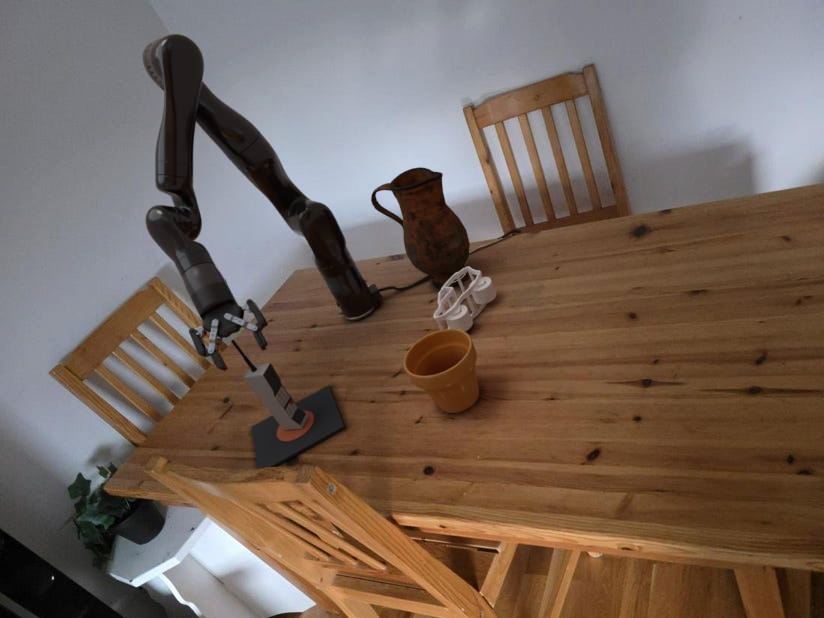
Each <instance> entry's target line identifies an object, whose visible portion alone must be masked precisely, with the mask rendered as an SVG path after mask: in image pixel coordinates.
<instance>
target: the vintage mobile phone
mask: <svg viewBox="0 0 824 618" xmlns="http://www.w3.org/2000/svg"><path fill="white" fill-rule="evenodd" d="M230 342H231V344H232V345H233V346H234V348H235V349H236V350H237V352H238V353H239V354H240V355H241V356H242V359H243V360H244V362H245V363H246V364H247V366H248V367H249V368H248V371H247V372H246V374H245V375H244V377H243V378H244V381H245V383H246V384H247V385H248V386H249V387H250V389H251V390H252V391H253V392H254V394H255V395H256V396H257V397H258V399H259V400H260V401H261V403H262V404H263V405H264V407H265V408H266V409H267V410H268V412H269V413H270V415H271V416H273V417H274V418H275V419H276V421H277V422H278V423H279V425H280V426H281V427H282V429H283V430H294V429H302V428H303V426H304V425H305V423H306V421H307V419H308V414H307V413H306V412H304V411H303V410H301V409H300V408H299V407H298V406H297V404H296V403H297V402H295V400H294V399H293V397H292V396H291V395H290V393H289V392H288V390H287V389H286V387H285V386H284V385H283V383H282V380H281V378H280V376H279V374H278V373H277V371H276V369H275V367H274V366H273V364H272V363H271V362H267V363H261V364H253V363H252V361H251V360H250V359H249V357H248V356H247V355H246V354H245V352H244V351H243V350H242V349H241V348H240V346H239V345H238V343H237V342H236V341H235V339H231V340H230Z"/></svg>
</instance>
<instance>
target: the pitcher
mask: <svg viewBox="0 0 824 618" xmlns="http://www.w3.org/2000/svg"><path fill="white" fill-rule="evenodd" d="M443 174H444V173H443V172H441V171H434V170H431V169H430V168H427V167H422V166H421V167H414V168H410V169H409V168H408V169H407V170H405V171H403V172H401V173H399V174H398V175H396V176H395V177H394V178H393V179H392V180H391V182H387V183H383V184H381V185H379V186H377V187H376V188H375V189H374V190H373V191H372V193H371V197H370V202H371V205H372V206H373V208H374V209H375V210H376V211H377V212H379V213H381V214H382V215H383V216H386V217H388V218H389V219H391V220H393V221H395V222H396V223H398V224H399V225H400V226H401V227H402V231H403V244H404V245H403V246H404V249H405V254H406V256H407V258H408V260H409V261H410V263H411V264H412V266H413V267H414V268H415V269H416V270H419V271H420V272H422V273H423V274H425V275H426V276H428V275H430V276H432V277H433V278H432V280H431V282H432V287H434V288H436V289H439V290H441V288H442V287H443V285H444V284H445V283H446V282H447V281H448V280H449V279H450V278H451V277H452V276H453V275H454V274H455V273H456V272H459V271H460V270H462V269H463V268H464V267H467V266H466V263H467V261H468V259H469V255H470V254H469V251H470V246H471V245H470V244H471V243H470V239H469V235H468V231H467V229H466V227H465V225H464V224H463V222H462V220H461V218H460V217H459V216H458V215H457V214H456V213H455V212H454V211H453V209H451V207H450V206H449V205H448V204H447V202H446V198H445V194H444V187H443V176H444V175H443ZM381 191H388V192H391V193H392V195H393V196H394V198H395V199H396V201H397V203H398V207H399V208H400V212H401V217H402V218H401V217H400V216H399V215H397V214H396V213H393V212H392V211H391V210H389V209H387V208H385V207H384V206H382V204H380V202H379V201H378V199H377V193H379V192H381ZM463 275H464V274H463ZM463 275H462V276H463ZM462 276H460V278H461V277H462ZM469 278H470V276H469V273H468V272H467V273H466V275H465V276H464V277H463V278H462V279H461V282H462V284H464V283H465V282H466V281H468V279H469ZM456 280H457V279H455V280H454V281H456ZM454 281H453V282H454ZM458 286H460V285H459V283H458V281H456V282H454V283H451V284H450V285H449V287H453V288H455V287H458Z"/></svg>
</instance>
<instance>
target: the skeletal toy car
mask: <svg viewBox="0 0 824 618" xmlns="http://www.w3.org/2000/svg"><path fill="white" fill-rule="evenodd" d="M466 272H468V273H469V276H470V277H469V278H470V281H471V283H470V284H469V286H468V288H467V289H465V287H464V283H462V282H461V279H460V276H462V275H463V274H464V273H466ZM474 275H475V276H476V277H474ZM455 279H457V280H458V283H459V285H458V286H459V287H460V290H461V292H462V293H461V294H460V295H459V297H458V295H457V293H456V291H455V287H449V285H450V284H451V283H452V282H453V281H454V280H455ZM471 295H472V298H473V300H474V303H475V304H476V305H481V304H483V305H482V306H481V307H480V309H479V310H478V311H477V312H476V311H475V310H477V309H475V307H474V306H475V305H474V304H473V300H472V299H471V297H470V296H471ZM437 296H438V297H437V305H438V306H437V309H436V310H435V311H434V313H433V319H434V321H435V322H436V325H437V326H438V328H439V330H444V329H445V328H444V326H443V324H442V321H444V320H445V322H446V324H447V329H459V330H462V331H464V332H467V331H469V330H470V329H471V328H472V326H473V325H474V321H473V320H474V319H475V318H477V316H478V315H479V314H480V313H481V312H482V311H483V310H484V309H485V308H486V306H487V304H488V303H490V302H492V301H493V300H494V299H496V297H497V292H496V289H495V286H494V284H493V281H492V278H490V277H489V276H483V274H482V271H481V270H478V269H474V268H472V267H471V266H469V265H468V266H466V267H465V268H463V269H462V270H460V271H459V272H456V273H455V274H454V275H453V276H452V277H451V278H450V279H449V280H448V281H447V282H446V283H445V284H444V285H443V287H442V288H441V289H439V292H438V293H437ZM451 297H453V299H454V302H453V303H452V300H451ZM465 299H466V301H467V302H468V305H469V308H470V310H471V312H472V313H471V314H470V312H469V308H468V306H466V305H465V304H461V303H462V302H463V301H464V300H465ZM446 303H448V306H449V308H448V309H447V310H446V309H445V307H444V305H445V304H446ZM475 312H476V313H475ZM473 313H475V314H474V315H472V314H473Z"/></svg>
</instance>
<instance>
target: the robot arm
mask: <svg viewBox="0 0 824 618" xmlns="http://www.w3.org/2000/svg"><path fill="white" fill-rule="evenodd" d="M142 64H143V67H144V69H145V72H146V74H147V75H148V76H149V78H150V79H151V80H152V81H153V82H154V83H155V85H156V86H158V88H159V89H160V90H162V91H163V93H164V95H163V109H162V110H163V112H162V118H161V122H160V126H159V130H158V134H157V140H156V145H155V153H154V176H155V177H154V184H155V187H156V189H157V190H158V191H159V192H161V193H162V194H165V195H167V196H169V197H170V198H171V200H172V203H173V205H165V204H156V205H153V206H151V207H150V208H149V209H148V210H147V211H146V213H145V225H146V230H147V232H148V235H149V236H150V237H151V239H152V240H153V241H154V242H155V244H156V245H157V246H158V247H159V248H160V250H161V251H163V253H164V254H165V255H166V256H167V257H168V258H169V259H170V260H171V261H172V262H173V264H174V266H175V268H176V270H177V272H178V274H179V276H180V277H181V280H182V282H183V285H184V288H185V290H186V292H187V294H188V297H189V298H190V300H191V302H192V304H193V306H194V308H195V309H196V311H197V313H198V316H199V317H200V319H201V323H202V324H201V325H200V326H198V327H195V328H194V327H191V328H189V329H188V334H189V336H190V338H191V340H192V343H193V345H194V347H195V350H196V353H197V354H198V356H201V357H202V358H207V357H211V359H212V361H213V363H214V365H215V367H216V368H217V369H219V370H221V371H224V372H225V371H227V370H228V369H229V368H228V367H227V364H226V362H225V360H224V358H223V356H222V355H221V353H219V351H220V347H221V345H222V344H223V339H224V338H225V339H227V338H229V337H230V336H231V335H233V334H237V333H239V332H240V331H241V329H242V328H244V329H245V330H247V331H251V332H252V336H253V337H254V339H255V341H256V343H257V345H258V346H259V348H260V350H261V351H264V352H265V351H266V350H267V349H268V348H267V347H268V342H267V340H266V338H265V335H264V333H263V329H265V328H267V327H268V325H269V323H268V321H267V319H266V317H265V316H264V314H263V312H262V311H261V309H260V308H259V306H258V305H257V303H256V302H255V301H254V300H253V299H252V298H248V299H246V302H245V303H244V304H241V305H240V304H238V302H237V300H236V297H235V296H234V294H233V292H232V290H231V289H230V286H229V285H228V281H227V279H226V278H225V277H224V276H223V275H224V274H222V272H221V270H219V268H218V266H217V265H216V263H215V261H214V259H213V257H212V255H211V253H210V251H209V249H208V248H207V247H206V245H205V244H203V243H201V242H199V241H196V240H197V239H198V238H199V236H200V235H201V232H202V229H203V219H202V214H201V211H200V206H199V204H198V199H197V195H196V191H195V188H194V183H195V182H194V180H195V179H194V176H195V174H194V171H195V167H194V166H195V160H194V159H195V158H194V157H195V137H196V126H197V125H198V127H200V128H201V130H202V131H203V132H204V133H205V134H206V135H207V137H208V138H209V139H210V140H211V141H212V142H213V143H214V144H215V145H216V146H217V147H218V149H219V150H220V151H221V152H222V153H223V154H224V156H225V157H226V158H227V159H228V160H229V161H230V162H231V164H233V166H234V167H236V168H235V169H237V170H238V171H239V172H240V173H241V174H242V175H243V176H244V177H245V179H247V180H248V181H249V182H250V183H251V184H252V185H253V187H255V188H256V189H257V190H258V191H259V192H260V193H261V194H262V195H264V197H265V198H267V200H268V201H269V202H270V204H272V206H273V207H274V208H275V210H276V211H277V213H278V214H279V215H280V217H281V218H282V220H283V221H284V222H285V223H286V225H287V226H288V227H289V228H290V230H291V231H292V232H293V233H295V234H296V235H298V236H300V237H302V238H304V239H305V241H306V242H307V244H308V246H309V248H310V250H311V252H312V254H311V260H312V262H313V264H314V265H315V267H316V269H317V270H318V273H319V274H320V276H321V278H322V279H323V281H324V282H325V284H326V286H327V288H328V290H329V291H330V292H331V295H332V296H333V298H334V300H335V302H336V306H337V307H338V308H339V309H340V310H341V312H342V314H343V317H344V318H345V319H346V320H347V321H349V322H356V321H360V320H363V319H366V317H368V316H370V315H371V314H372V313H373V312H374V311H375V310H376V309H378V308H379V305H378V302H377V301H379V300H381V299H383V296H382V293H381V292H385V291H388V290H393V291H398V292H401V291H402V292H403V291H406V290H409V289H412V288H414V287H416V286H419V285H420V284H421V283H423V282H425V281H426V280H428V279H430V278H432V277H433V276H430V275H426V276H424V277H423V278H421V279H418V280H417V281H415V282H413V283H411V284H409V285H407V286H403V287H397V286H394V285H393V286H385V287H381V288H378V287H377V285H376V284H375V283H373V284H371V285H368V284H367V282H366V280H365V278H364V277H363V275H362V273H361V272H360V270H359V268H358V266H357V264H356V262H355V260H354V258H353V256H352V253H350V251H349V248H348V247H347V240H346V237H345V235H344V233H343V231H342V228H341V227H340V224H339V222H338V221H337V218H336V216H335V215H334V213H333V211H332V210H331V209H330V207H329V206H327V205H326V204H325V203H323V202H321V201H316V200H312V199H311V198H309V197H308V196H307V195H306V194H305V193H303V191H302V190H300V189H299V188H298V186H297V185H296V184H295V183H294V182H293V181H292V180H291V178H290V177H289V175H288V174H287V171H286V169H285V168H284V165H283V163H282V161H281V159H280V157H279V155H278V153H277V151H276V150H275V149H274V147H273V146H272V144H271V143H270V142H269V141H268V140H267V138H266V137H265V136H264V135H263V133H262V132H261V131H260V130H259V129H258V128H257V127H256V126H255V125H254V124H253V123H252V122H251V121H250V120H249V119H247V118H246V117H245V116H244V115H242V114H241V113H239V112H238V111H237V110H235V109H234V108H232V107H231V106H230V105H228V104H227V103H225V102H224V101H222V100H221V99H220V98H219V97H218V96H217V95H216V94H215V93H213V91H212V90H211V89H210V88H209V87H208V86H207V84H206V83H205V81H203V79H204V74H205V59H204V55H203V52H202V50H201V49H200V47H199V46H198V45H197V43H196V42H195V41H194V40H193V39H191V38H190V37H188V36H186V35H184V34H180V33H171V34H167V35H164V36H162V37H160V38H157V39H155V40H153V41H151V42H149V43H148V44H146V45H145V47H144V49H143V51H142ZM196 124H197V125H196ZM515 233H516V234H521V233H522V230H519V229H511V230H509V231H507V232H506V233H505V234H503V235H502V236H500V237H497V238H496V239H500V238H504V239H506V238H507V237H508V236H510V235H511V234H515ZM245 311H247V312H248V313H249V314H253V317H255V319H256V321H257V322H256V323H255V324H254V323H252V322H249V321H247V320H245V319H244V317H245ZM205 332H207V333H209V338H208V342H209V343H208V347H207V346H206V344H205V341H204V339H203V338H204V337H205V334H204V333H205Z"/></svg>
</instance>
